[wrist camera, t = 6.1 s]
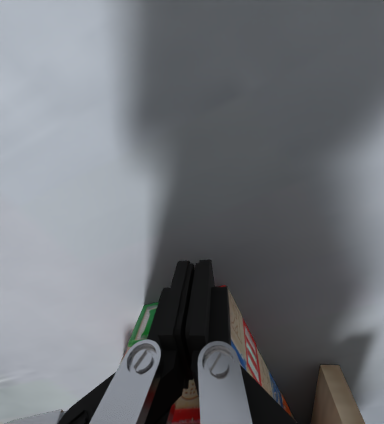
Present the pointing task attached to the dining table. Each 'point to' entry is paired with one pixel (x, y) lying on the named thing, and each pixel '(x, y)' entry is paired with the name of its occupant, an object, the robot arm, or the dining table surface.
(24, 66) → the dining table surface
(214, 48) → the dining table surface
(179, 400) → the stack of blocks
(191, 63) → the dining table surface
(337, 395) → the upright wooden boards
